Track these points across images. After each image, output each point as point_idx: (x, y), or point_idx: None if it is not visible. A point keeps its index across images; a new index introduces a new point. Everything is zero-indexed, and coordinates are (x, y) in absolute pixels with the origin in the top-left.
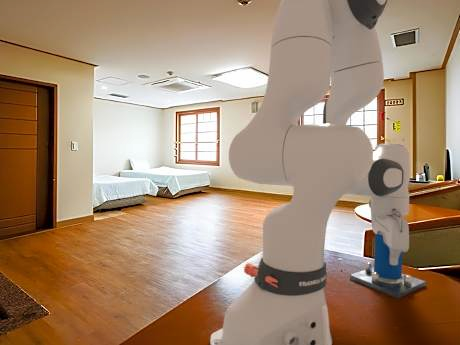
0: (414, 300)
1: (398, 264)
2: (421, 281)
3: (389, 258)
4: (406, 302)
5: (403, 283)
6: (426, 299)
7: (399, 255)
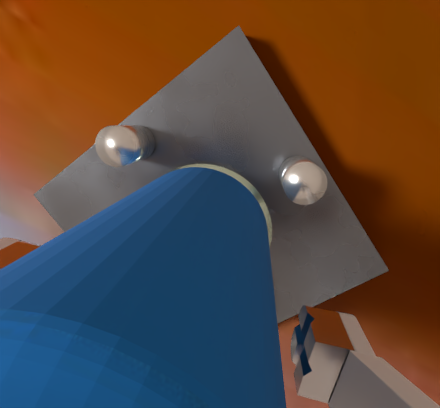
0: (403, 195)
1: (265, 249)
2: (239, 55)
3: (328, 392)
4: (417, 241)
5: (272, 182)
6: (399, 129)
7: (431, 400)
